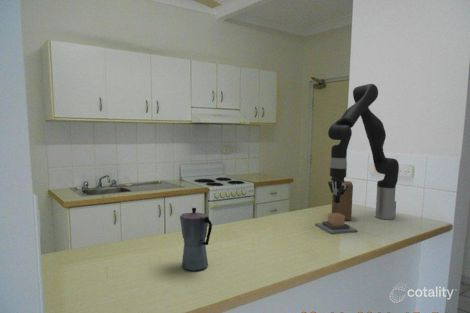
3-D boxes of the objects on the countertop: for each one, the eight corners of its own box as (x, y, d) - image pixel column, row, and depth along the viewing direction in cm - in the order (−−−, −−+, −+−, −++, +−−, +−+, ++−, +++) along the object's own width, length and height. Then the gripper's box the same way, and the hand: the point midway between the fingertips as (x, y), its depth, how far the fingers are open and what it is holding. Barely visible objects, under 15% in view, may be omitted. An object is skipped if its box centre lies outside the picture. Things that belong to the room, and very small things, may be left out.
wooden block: (331, 219, 168) (333, 182, 166) (331, 215, 177) (333, 180, 176) (351, 221, 165) (353, 184, 163) (350, 216, 174) (351, 181, 173)
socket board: (339, 223, 160) (339, 218, 160) (357, 232, 147) (357, 226, 147) (315, 225, 157) (315, 220, 156) (331, 234, 143) (331, 228, 143)
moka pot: (191, 256, 115) (191, 202, 113) (222, 268, 105) (223, 209, 104) (170, 264, 108) (170, 207, 106) (202, 278, 98) (202, 215, 96)
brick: (337, 224, 155) (338, 212, 154) (344, 228, 150) (344, 215, 149) (327, 225, 153) (328, 213, 153) (334, 228, 148) (334, 216, 148)
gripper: (353, 168, 144) (352, 205, 145) (337, 165, 157) (335, 199, 158) (339, 168, 142) (337, 206, 143) (323, 165, 155) (322, 200, 156)
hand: (336, 202), depth 151 cm, fingers closed
